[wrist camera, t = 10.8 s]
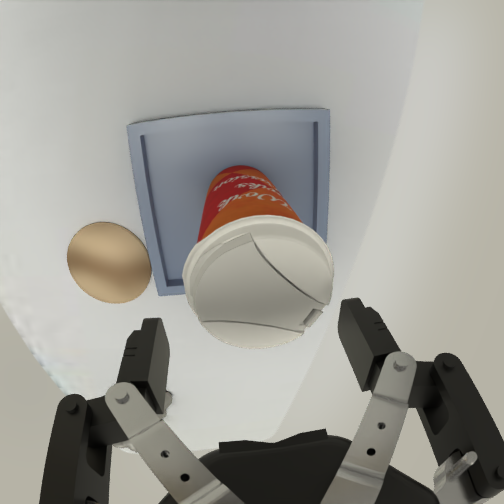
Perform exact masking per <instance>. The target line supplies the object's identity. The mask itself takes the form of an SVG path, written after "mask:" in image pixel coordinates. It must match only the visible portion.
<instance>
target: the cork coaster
mask: <svg viewBox="0 0 504 504" xmlns="http://www.w3.org/2000/svg"><path fill="white" fill-rule="evenodd" d="M67 262H68V267H69V270H70V273H71V275H72V277H73V279H74V280H75V282H76V283H77V284H78V286H79V287H80V288H81V289H82V290H83V291H84V292H86V293H87V294H88V295H90V296H92V297H93V298H95V299H98V300H100V301H103V302H107V303H125V302H129V301H131V300H134V299H135V298H137V297H138V296H140V295H141V294H142V293H143V292H144V290H145V289H146V287H147V285H148V283H149V280H150V276H151V262H150V258H149V254H148V252H147V250H146V248H145V246H144V245H143V243H142V242H141V241H140V240H139V239H138V238H137V237H136V236H135V235H134V234H133V233H132V232H130V231H129V230H127V229H126V228H124V227H122V226H119V225H116V224H113V223H107V222H99V223H93V224H90V225H87V226H85V227H84V228H82V229H81V230H80V231H78V233H77V234H76V235H75V236H74V237H73V239H72V240H71V242H70V244H69V247H68V252H67Z"/></svg>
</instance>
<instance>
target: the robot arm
mask: <svg viewBox="0 0 504 504" xmlns="http://www.w3.org/2000/svg"><path fill="white" fill-rule="evenodd" d="M338 333H339V338H340V340H341V343H342V345H343V347H344V349H345V352H346V354H347V356H348V359H349V361H350V364H351V366H352V368H353V371H354V373H355V375H356V378H357V381H358V383H359V385H360V388H361V390H362V392H364V391H368V390H371V392H372V397H371V399H370V402H369V404H368V407H367V410H366V412H365V414H364V417H363V419H362V421H361V423H360V426H359V428H358V430H357V432H356V435H355V437H354V439H353V441H351V440H349V439H346V438H343V437H339V436H332V435H327V432H326V429H322V430H315V431H310V432H305V433H300V434H297V435H294V436H292V437H289V438H287V439H284V440H281V441H279V442H276V443H266V442H257V441H248V440H242V441H230V442H219V449H217V450H214V451H212V452H210V453H208V454H206V455H204V456H202V457H201V458H199V459H197V458H196V457H195V456H194V455H193V453H192V452H191V451H190V450H189V449H188V448H187V447H186V446H185V445H184V443H183V442H182V441H181V440H180V439H179V438H178V437H177V435H176V434H175V433H174V432H173V431H172V430H171V428H170V427H169V426H168V425H167V424H166V423H165V421H164V420H162V419H160V418H159V417H158V416H157V414H164V405H165V394H166V384H167V375H168V365H169V357H170V349H169V342H168V339H167V336H166V332H165V329H164V326H163V322H162V319H161V318H145V319H144V320H143V323H142V327H141V330H134V331H133V332H132V334H131V335H130V336H129V337H128V339H127V342H126V346H125V350H124V354H123V358H122V362H121V366H120V370H119V374H118V378H117V382H116V384H115V385H113V386H111V387H110V388H109V389H108V391H107V392H106V395H105V396H102V397H99V398H95V399H91V400H87V401H86V400H85V398H84V397H83V396H81V395H79V394H70V395H68V396H66V397H64V398H63V399H62V400H61V401H60V403H59V405H58V407H57V411H56V415H55V420H54V424H53V428H52V433H51V437H50V442H49V447H48V452H47V457H46V463H45V468H44V474H43V480H42V487H41V494H40V501H39V504H108V503H109V481H110V466H111V454H112V444H115V443H119V442H124V441H127V440H130V442H131V443H132V445H133V446H134V448H135V449H136V450H137V452H138V453H139V455H140V456H141V457H142V459H143V460H144V461H145V463H146V464H147V466H148V467H149V468H150V469H151V471H152V472H153V473H154V475H155V476H156V477H157V478H158V480H159V481H160V482H161V483H162V484H163V486H164V487H165V488H166V490H167V491H168V494H167V495H166V496H165V497H164V498H163V499H162V500H161V501H160V503H159V504H483V503H484V502H486V501H488V500H489V499H491V498H492V497H494V496H495V495H497V494H498V493H500V492H501V491H503V490H504V441H503V439H502V437H501V435H500V432H499V430H498V428H497V427H496V424H495V422H494V421H493V418H492V417H491V414H490V413H489V411H488V409H487V407H486V405H485V403H484V401H483V399H482V397H481V396H480V394H479V392H478V390H477V388H476V387H475V385H474V383H473V381H472V379H471V378H470V376H469V374H468V373H467V371H466V369H465V367H464V366H463V364H462V362H461V361H460V359H459V358H458V357H456V356H455V355H453V354H450V353H442V354H439V355H438V356H436V358H435V360H434V362H423V361H415V359H414V358H413V357H412V356H411V355H409V354H408V353H405V352H401V350H400V348H399V347H398V345H397V343H396V342H395V340H394V338H393V336H392V335H391V333H390V332H389V330H388V329H387V326H386V325H385V323H383V320H382V318H381V316H380V315H379V313H378V312H376V311H375V310H373V309H372V308H371V307H367V308H365V307H364V305H363V303H362V302H361V300H360V299H359V298H351V299H345V300H342V302H341V308H340V315H339V321H338ZM408 408H416V409H417V411H418V414H419V416H420V419H421V421H422V424H423V426H424V428H425V431H426V434H427V436H428V439H429V442H430V444H431V447H432V449H433V452H434V455H435V458H436V460H437V463H438V466H439V467H438V468H437V470H436V471H435V474H434V491H432V490H430V489H429V488H428V487H426V486H424V485H422V484H421V483H419V482H417V481H416V480H414V479H412V478H411V477H409V476H407V475H405V474H404V473H402V472H400V471H399V470H397V469H395V468H394V467H392V466H390V465H389V463H390V461H391V458H392V455H393V453H394V450H395V447H396V444H397V441H398V438H399V435H400V432H401V429H402V426H403V423H404V420H405V417H406V413H407V410H408Z"/></svg>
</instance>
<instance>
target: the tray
mask: <svg viewBox="0 0 504 504" xmlns="http://www.w3.org/2000/svg"><path fill="white" fill-rule="evenodd" d="M127 133H128V141H129V148H130V155H131V162H132V169H133V175H134V181H135V187H136V193H137V198H138V204H139V209H140V214H141V220H142V225H143V230H144V235H145V239H146V244H147V249H148V253H149V258H150V262H151V266H152V271H153V275H154V279H155V283H156V287H157V291H158V295H159V296H168V295H181V294H186V293H185V287H184V282H183V277H182V273H183V269H184V264H185V262H186V260H187V257H188V255H189V253H190V252H191V250H192V249H193V247H194V246H195V244H197V240H198V235H199V229H200V224H201V219H202V214H203V209H204V204H205V200H206V196H207V192H208V189H209V186H210V184H211V182H212V181H213V179H214V178H215V177H216V176H217V175H218V174H219V173H220V172H221V171H223V170H224V169H226V168H229V167H232V166H237V165H245V166H250V167H253V168H255V169H257V170H259V171H260V172H262V173H263V174H264V175H265V176H266V177H267V178H268V179H269V180H270V181H271V182H272V184H273V185H274V186H275V187H276V189H277V190H278V191H279V192H280V194H281V195H282V196H283V198H284V199H285V200H286V201H287V203H288V204H289V205H290V207H291V208H292V209H293V211H294V212H295V213H296V215H297V216H298V217H299V219H300V220H301V221H302V223H303V224H305V225H307V226H308V227H310V228H311V229H313V230H314V231H315V232H316V233H317V234H318V235H319V236H320V237H321V238H322V239H323V241H324V242H325V244H326V242H327V224H328V203H329V171H330V110H328V109H323V108H287V109H257V110H239V111H225V112H214V113H203V114H194V115H185V116H177V117H170V118H162V119H156V120H149V121H143V122H137V123H132V124H129V125H127Z"/></svg>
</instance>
